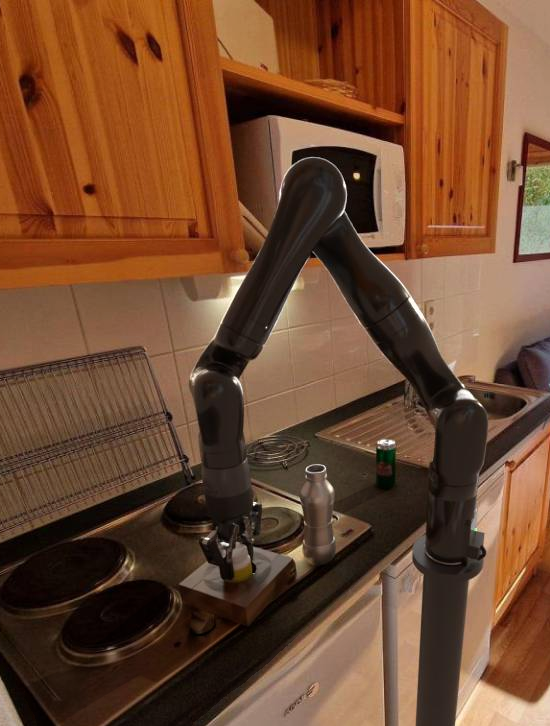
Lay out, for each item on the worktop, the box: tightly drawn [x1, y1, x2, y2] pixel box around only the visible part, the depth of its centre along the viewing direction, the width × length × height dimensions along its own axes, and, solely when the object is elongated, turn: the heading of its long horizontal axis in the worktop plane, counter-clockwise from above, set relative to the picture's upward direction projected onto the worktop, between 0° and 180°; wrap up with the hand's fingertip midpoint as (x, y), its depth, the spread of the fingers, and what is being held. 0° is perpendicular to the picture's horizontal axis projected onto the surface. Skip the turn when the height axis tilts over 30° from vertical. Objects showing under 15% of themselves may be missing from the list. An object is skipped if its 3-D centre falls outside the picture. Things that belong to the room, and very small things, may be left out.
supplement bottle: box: [224, 542, 253, 582], centre depth 85 cm, size 5×5×8 cm
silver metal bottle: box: [299, 463, 337, 566], centre depth 91 cm, size 6×7×20 cm
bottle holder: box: [178, 541, 295, 627], centre depth 86 cm, size 14×14×4 cm
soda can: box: [375, 438, 397, 490], centre depth 121 cm, size 5×5×12 cm
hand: (238, 568), depth 85 cm, fingers closed on supplement bottle, 4 cm apart
